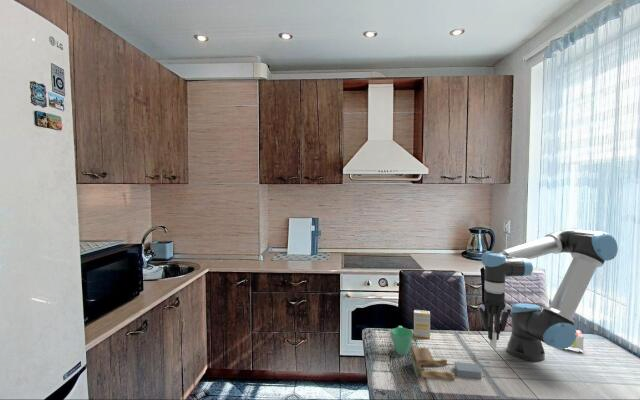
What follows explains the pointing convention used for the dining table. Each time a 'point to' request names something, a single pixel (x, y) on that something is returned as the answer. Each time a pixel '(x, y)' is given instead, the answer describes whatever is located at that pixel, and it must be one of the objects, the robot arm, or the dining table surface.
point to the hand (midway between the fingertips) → (493, 347)
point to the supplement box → (422, 324)
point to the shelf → (428, 364)
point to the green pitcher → (402, 339)
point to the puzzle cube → (578, 341)
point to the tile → (467, 370)
